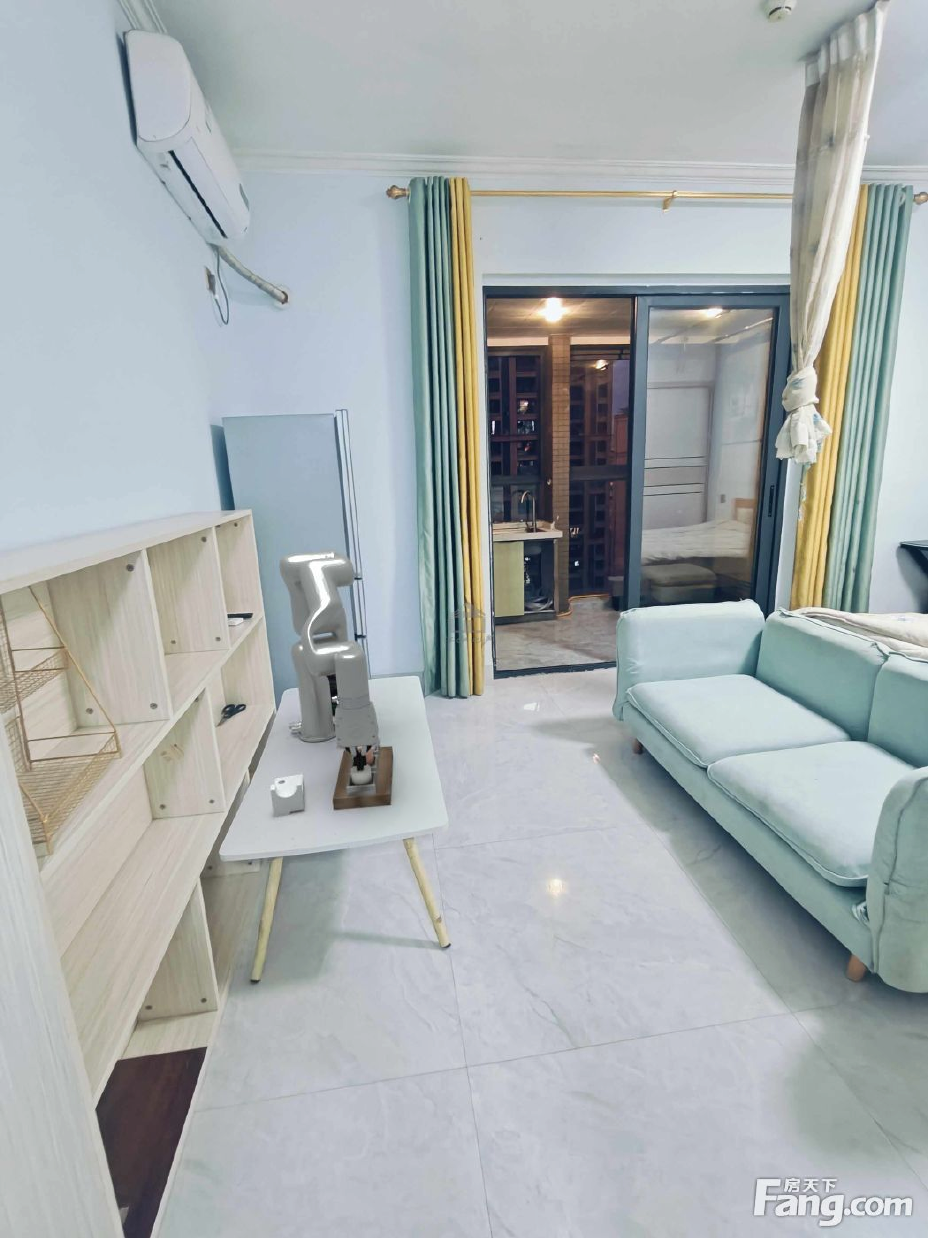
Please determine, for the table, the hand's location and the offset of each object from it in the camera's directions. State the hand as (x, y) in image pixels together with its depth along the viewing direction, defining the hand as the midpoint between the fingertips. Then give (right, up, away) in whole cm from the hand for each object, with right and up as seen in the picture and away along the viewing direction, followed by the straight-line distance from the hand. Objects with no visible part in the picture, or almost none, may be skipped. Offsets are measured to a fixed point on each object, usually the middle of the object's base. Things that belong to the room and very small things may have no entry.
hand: (360, 768), depth 145 cm
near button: (0, -3, +1) cm, 3 cm away
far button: (-2, -1, +19) cm, 19 cm away
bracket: (-19, -9, +3) cm, 21 cm away
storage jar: (-18, +5, +58) cm, 61 cm away
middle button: (-1, -1, +10) cm, 10 cm away
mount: (-1, -6, +11) cm, 13 cm away
